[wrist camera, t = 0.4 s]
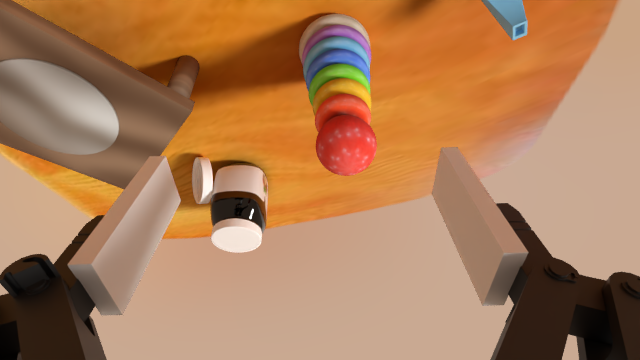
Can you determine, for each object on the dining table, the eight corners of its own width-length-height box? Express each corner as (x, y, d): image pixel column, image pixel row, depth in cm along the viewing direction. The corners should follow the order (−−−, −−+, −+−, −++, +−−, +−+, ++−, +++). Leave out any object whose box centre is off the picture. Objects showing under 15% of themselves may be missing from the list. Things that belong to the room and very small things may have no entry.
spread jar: (271, 196, 59) (268, 256, 51) (205, 199, 59) (192, 261, 51) (261, 144, 50) (256, 208, 42) (183, 148, 50) (164, 213, 42)
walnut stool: (-9, -73, 29) (-89, -36, 23) (206, 63, 40) (191, 113, 34) (-29, 60, 38) (-91, 113, 32) (152, 143, 48) (132, 195, 42)
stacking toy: (303, 5, 36) (309, 119, 23) (376, 15, 37) (420, 128, 24) (295, 73, 41) (297, 192, 29) (359, 80, 43) (387, 197, 30)
